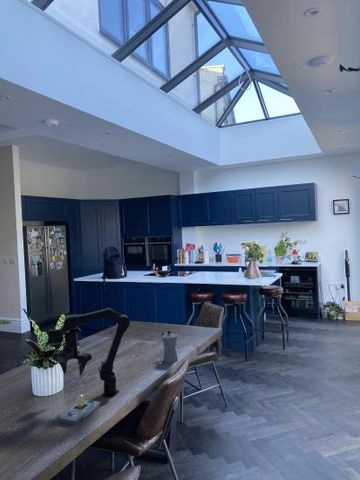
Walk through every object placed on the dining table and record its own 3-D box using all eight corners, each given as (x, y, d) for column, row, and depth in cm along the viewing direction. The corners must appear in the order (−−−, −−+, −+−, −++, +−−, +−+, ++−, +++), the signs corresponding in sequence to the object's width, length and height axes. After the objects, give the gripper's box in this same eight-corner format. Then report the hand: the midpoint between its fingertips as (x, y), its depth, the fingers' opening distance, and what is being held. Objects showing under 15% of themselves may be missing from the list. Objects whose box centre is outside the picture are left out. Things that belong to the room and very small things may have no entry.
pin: (80, 411, 167) (79, 393, 167) (86, 412, 166) (85, 394, 166) (76, 414, 164) (75, 396, 164) (82, 415, 163) (81, 397, 163)
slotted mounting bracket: (85, 403, 175) (85, 395, 175) (100, 405, 172) (100, 397, 172) (60, 421, 158) (60, 413, 158) (76, 424, 155) (75, 416, 155)
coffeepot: (182, 361, 225) (181, 331, 225) (169, 365, 220) (168, 334, 220) (169, 354, 238) (168, 326, 238) (156, 358, 233) (155, 329, 233)
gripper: (43, 345, 175) (45, 378, 175) (77, 348, 168) (79, 383, 169) (59, 339, 185) (61, 370, 186) (91, 341, 179) (93, 373, 179)
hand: (72, 374), depth 180 cm, fingers open, 9 cm apart
